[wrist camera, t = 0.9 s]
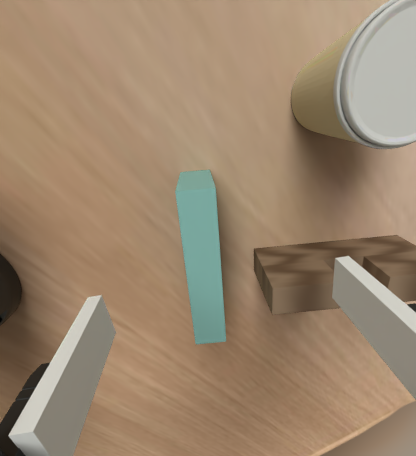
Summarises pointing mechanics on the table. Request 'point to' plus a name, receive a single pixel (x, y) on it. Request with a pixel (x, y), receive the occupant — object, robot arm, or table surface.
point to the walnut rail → (331, 271)
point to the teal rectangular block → (202, 253)
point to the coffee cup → (364, 82)
